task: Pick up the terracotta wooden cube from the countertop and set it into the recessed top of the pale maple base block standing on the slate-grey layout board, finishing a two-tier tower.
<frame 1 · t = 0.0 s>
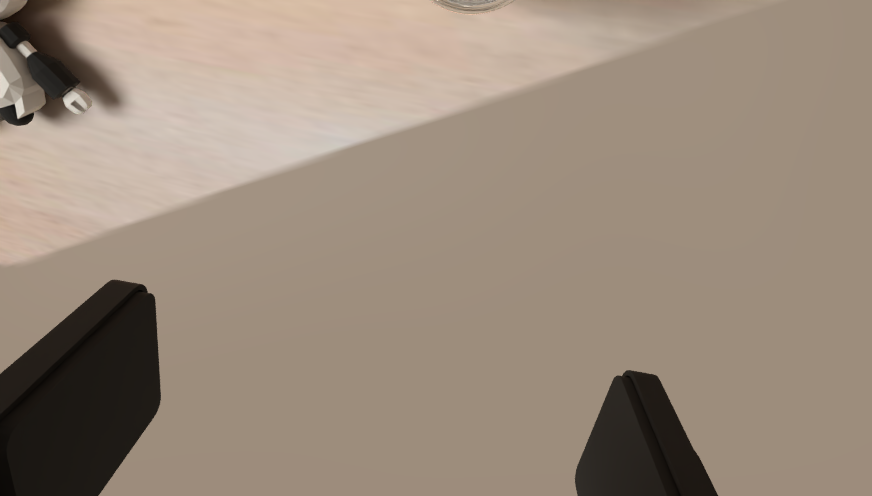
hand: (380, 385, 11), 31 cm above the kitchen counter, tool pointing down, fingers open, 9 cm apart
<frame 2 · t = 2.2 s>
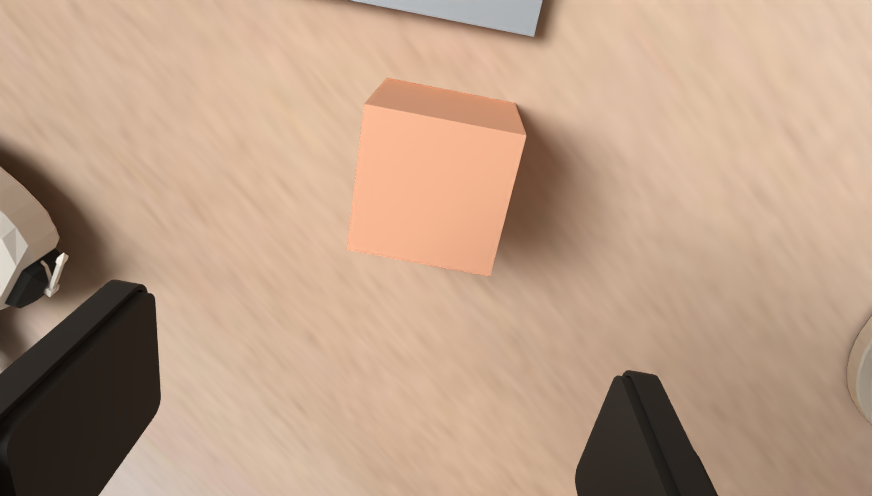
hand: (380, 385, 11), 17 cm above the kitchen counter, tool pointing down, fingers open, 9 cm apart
terracotta cube: (439, 152, 27), on the kitchen counter
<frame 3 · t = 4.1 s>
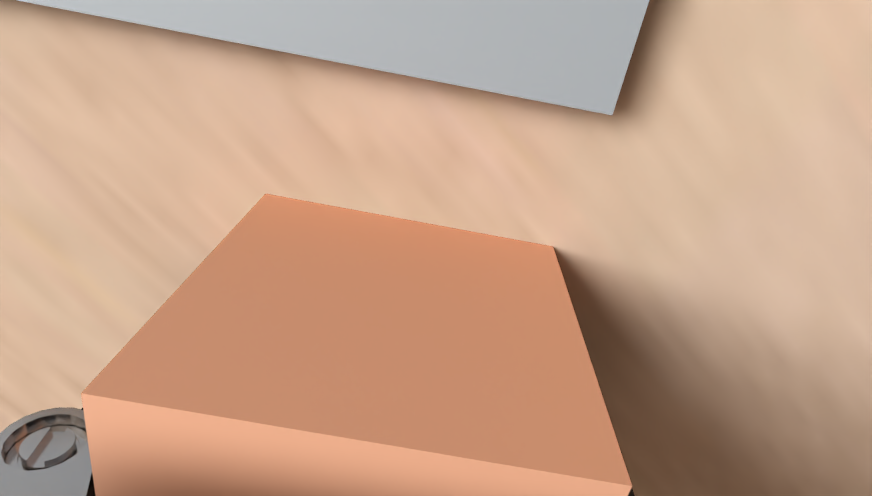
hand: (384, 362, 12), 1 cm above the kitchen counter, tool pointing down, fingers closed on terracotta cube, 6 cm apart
terracotta cube: (390, 338, 13), on the kitchen counter, touching gripper
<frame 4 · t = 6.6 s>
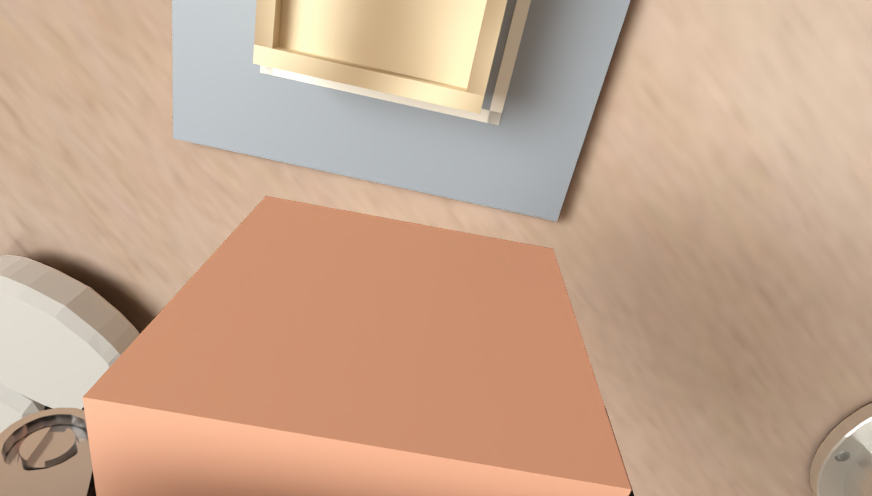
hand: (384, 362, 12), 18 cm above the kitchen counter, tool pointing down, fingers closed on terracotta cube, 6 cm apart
robot toy: (60, 341, 36), on the kitchen counter
terracotta cube: (390, 339, 13), point 17 cm above the kitchen counter, touching gripper
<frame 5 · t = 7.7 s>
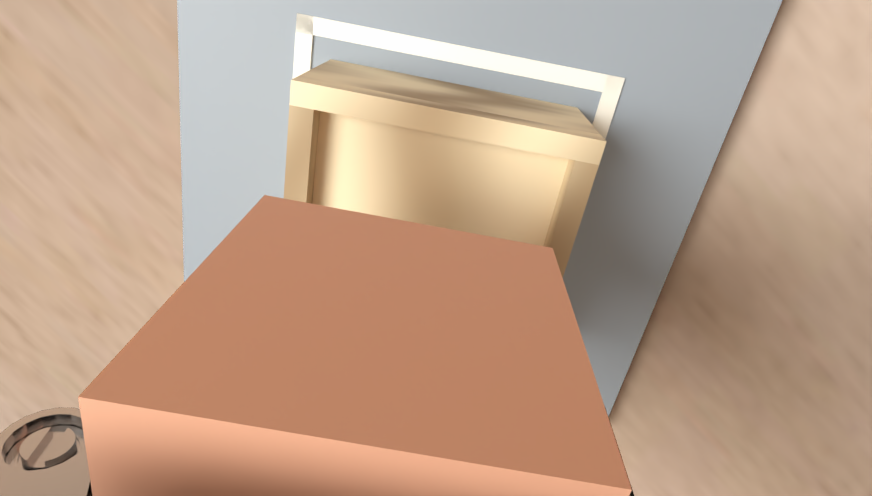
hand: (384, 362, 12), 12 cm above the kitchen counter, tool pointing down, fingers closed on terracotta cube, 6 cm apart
terracotta cube: (389, 339, 13), point 11 cm above the kitchen counter, touching gripper
maple base: (432, 199, 22), point 1 cm above the kitchen counter, touching layout board
layout board: (434, 190, 23), on the kitchen counter
when the fingers open (7 cm above the kitchen counter, at t = 8.9 s): terracotta cube drops 1 cm, resting on maple base.
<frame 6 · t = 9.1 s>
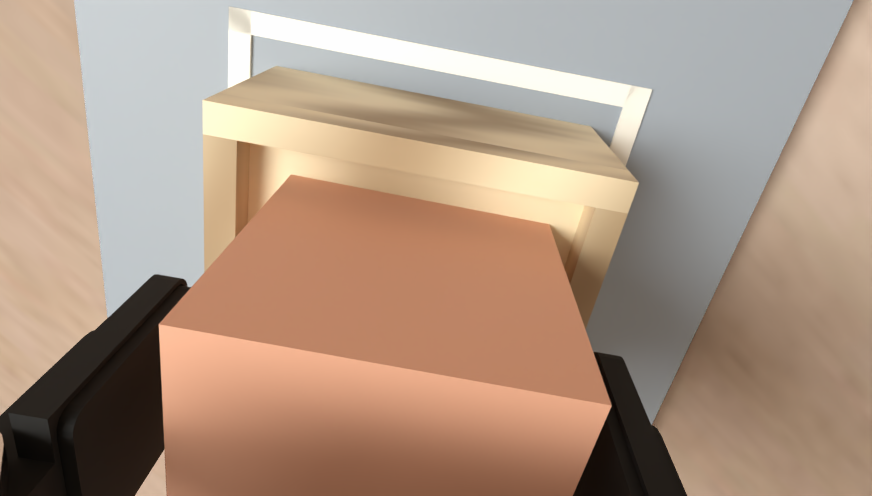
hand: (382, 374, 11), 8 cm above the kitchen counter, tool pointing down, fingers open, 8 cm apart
terracotta cube: (400, 308, 14), point 5 cm above the kitchen counter, touching maple base
maple base: (410, 238, 17), point 1 cm above the kitchen counter, touching layout board, terracotta cube
layout board: (412, 225, 18), on the kitchen counter
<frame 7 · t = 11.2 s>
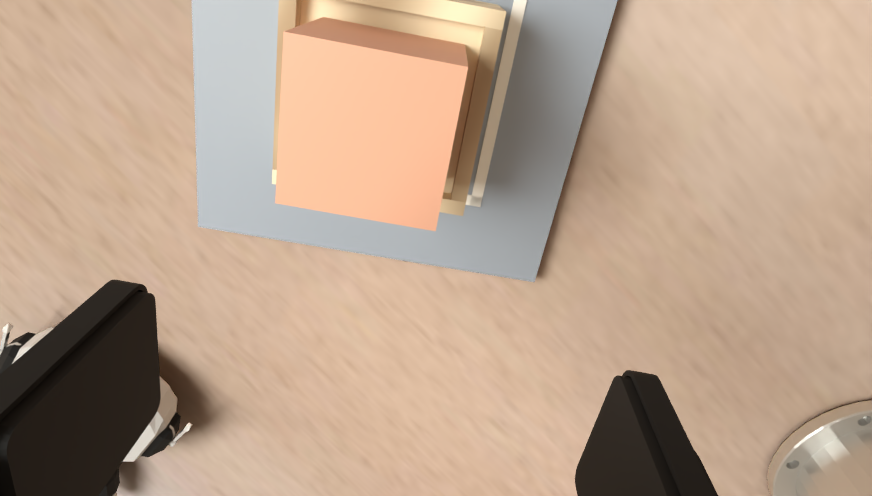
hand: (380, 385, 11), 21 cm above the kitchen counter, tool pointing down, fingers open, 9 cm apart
robot toy: (97, 394, 40), on the kitchen counter
terracotta cube: (385, 101, 24), point 5 cm above the kitchen counter, touching maple base
maple base: (391, 83, 28), point 1 cm above the kitchen counter, touching layout board, terracotta cube
layout board: (393, 79, 29), on the kitchen counter
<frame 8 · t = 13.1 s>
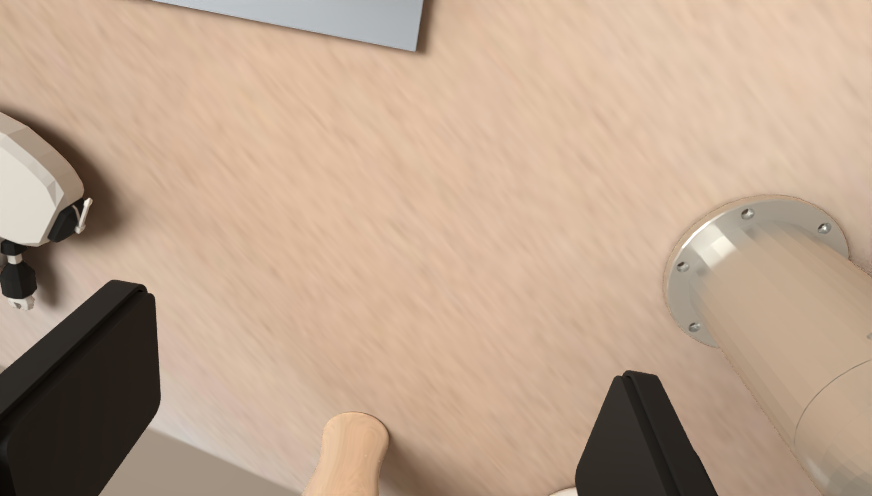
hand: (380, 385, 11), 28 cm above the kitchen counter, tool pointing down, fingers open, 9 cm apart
robot toy: (14, 194, 41), on the kitchen counter
beer glass: (356, 434, 50), on the kitchen counter
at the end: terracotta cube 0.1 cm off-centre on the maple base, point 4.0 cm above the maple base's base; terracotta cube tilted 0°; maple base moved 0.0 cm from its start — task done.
